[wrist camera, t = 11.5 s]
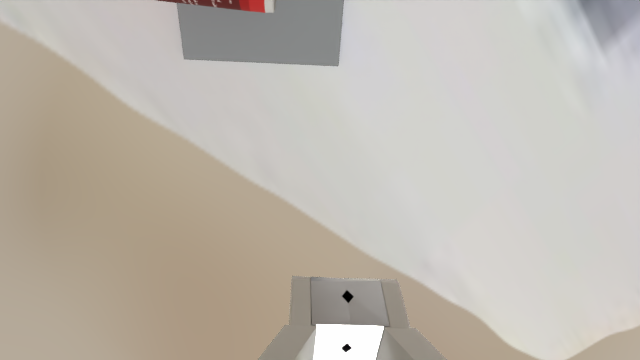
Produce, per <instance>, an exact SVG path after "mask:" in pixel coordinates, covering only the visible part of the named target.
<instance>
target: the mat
mask: <svg viewBox="0 0 640 360" xmlns="http://www.w3.org/2000/svg"><path fill="white" fill-rule="evenodd" d="M343 4H344V0H276V7H275V11H274V13H270V12H268V13H262V12H250V11H242V10H233V9H225V8H217V7H208V6H200V5H192V4H183V3H177V8H178V16H179V23H180V31H181V39H182V47H183V55H184V59H189V60H211V61H233V62H256V63H278V64H301V65H323V66H338V65H339V53H340V41H341V28H342V16H343Z"/></svg>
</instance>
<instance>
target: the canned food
mask: <svg viewBox="0 0 640 360" xmlns="http://www.w3.org/2000/svg"><path fill="white" fill-rule="evenodd" d="M158 1H166V2H175V3H183V4H192V5H200V6H208V7H217V8H225V9H233V10H242V11H250V12H262V13H268V12H270V13H274V11H275V7H276V0H158Z"/></svg>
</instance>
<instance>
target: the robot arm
mask: <svg viewBox="0 0 640 360" xmlns="http://www.w3.org/2000/svg"><path fill="white" fill-rule="evenodd" d="M258 360H447V359H446V358H445V357H444V356H443V355H442V354H441V353H440V352H439V351H438V350H437V349H436V348H435V347H434V346H433V345H432V344H431V343H430V342H429V341H428V340H427V339H426V338H425V337H424V336H423V335H422V334H421V333H420V332H419V331H418V330H417V329H416V328H410V325H409V320H408V317H407V313H406V309H405V305H404V301H403V297H402V293H401V289H400V285H399V282H398V281H397V280H391V279H379V280H378V279H352V278H350V279H349V278H344V279H341V278H339V279H338V278H324V277H301V276H292V282H291V299H290V314H289V325H285V326H284V327H283V328H282V329H281V331H280V332H279V333H278V334H277V336H276V337H275V338H274V339H273V341H272V342H271V343H270V345H269V346H268V347H267V348H266V350H265V351H264V352H263V353H262V355H261V356H260V357H259V359H258Z"/></svg>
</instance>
